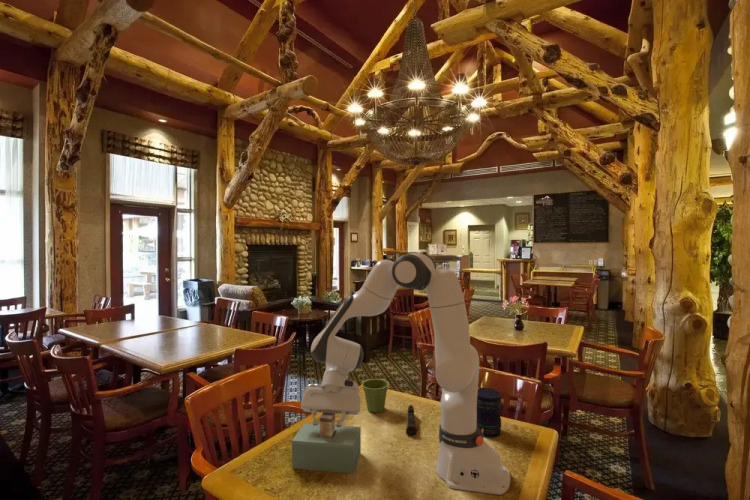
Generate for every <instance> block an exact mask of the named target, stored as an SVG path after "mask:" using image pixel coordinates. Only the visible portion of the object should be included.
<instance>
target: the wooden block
mask: <svg viewBox="0 0 750 500" xmlns="http://www.w3.org/2000/svg"><path fill="white" fill-rule="evenodd" d="M335 416H336V414H335V413H322V414H321V415H320V416H319V424H320V437H327V438H333V437H334V435H335V425H336V420H335V418H336V417H335Z"/></svg>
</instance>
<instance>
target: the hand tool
mask: <svg viewBox="0 0 750 500" xmlns="http://www.w3.org/2000/svg"><path fill="white" fill-rule="evenodd" d="M415 419H416V417H415V409H414V406H413V405H412V404H410V405H408V407H407V423H406V425H407V426H406V430H405V434H406V435H407V437H415V436H416V435H417V432H418V428H417V427H416V425H417V424H416V423H417V421H416V420H415Z"/></svg>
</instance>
